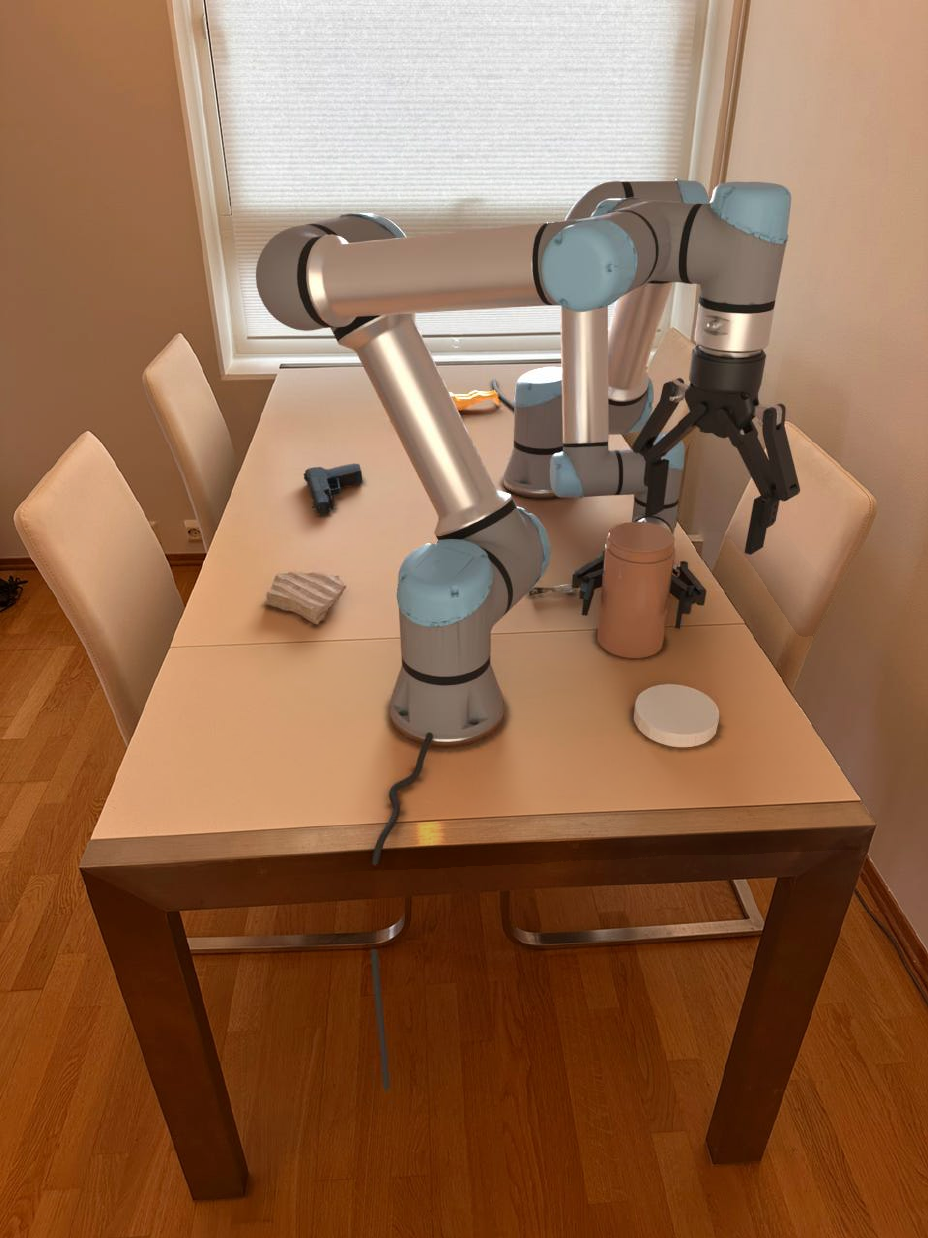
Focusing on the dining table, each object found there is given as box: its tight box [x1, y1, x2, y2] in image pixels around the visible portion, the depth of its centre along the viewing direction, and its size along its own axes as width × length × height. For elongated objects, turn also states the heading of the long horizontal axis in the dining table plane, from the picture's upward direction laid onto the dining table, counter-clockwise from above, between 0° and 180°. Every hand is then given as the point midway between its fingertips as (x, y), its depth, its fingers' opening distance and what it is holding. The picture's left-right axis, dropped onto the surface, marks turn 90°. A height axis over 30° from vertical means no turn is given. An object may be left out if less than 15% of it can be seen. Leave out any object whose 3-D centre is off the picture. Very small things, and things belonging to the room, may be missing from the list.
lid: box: [633, 683, 720, 748], centre depth 119 cm, size 11×11×2 cm
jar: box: [596, 521, 676, 659], centre depth 131 cm, size 10×10×18 cm
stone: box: [265, 571, 347, 625], centre depth 145 cm, size 13×12×2 cm
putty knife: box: [528, 583, 577, 596], centre depth 147 cm, size 1×8×2 cm, turn 103°
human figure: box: [449, 389, 500, 411], centre depth 225 cm, size 20×20×4 cm
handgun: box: [303, 463, 363, 515], centre depth 181 cm, size 3×18×12 cm
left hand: (701, 530), depth 104 cm, fingers open, 13 cm apart
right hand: (631, 614), depth 130 cm, fingers open, 13 cm apart
